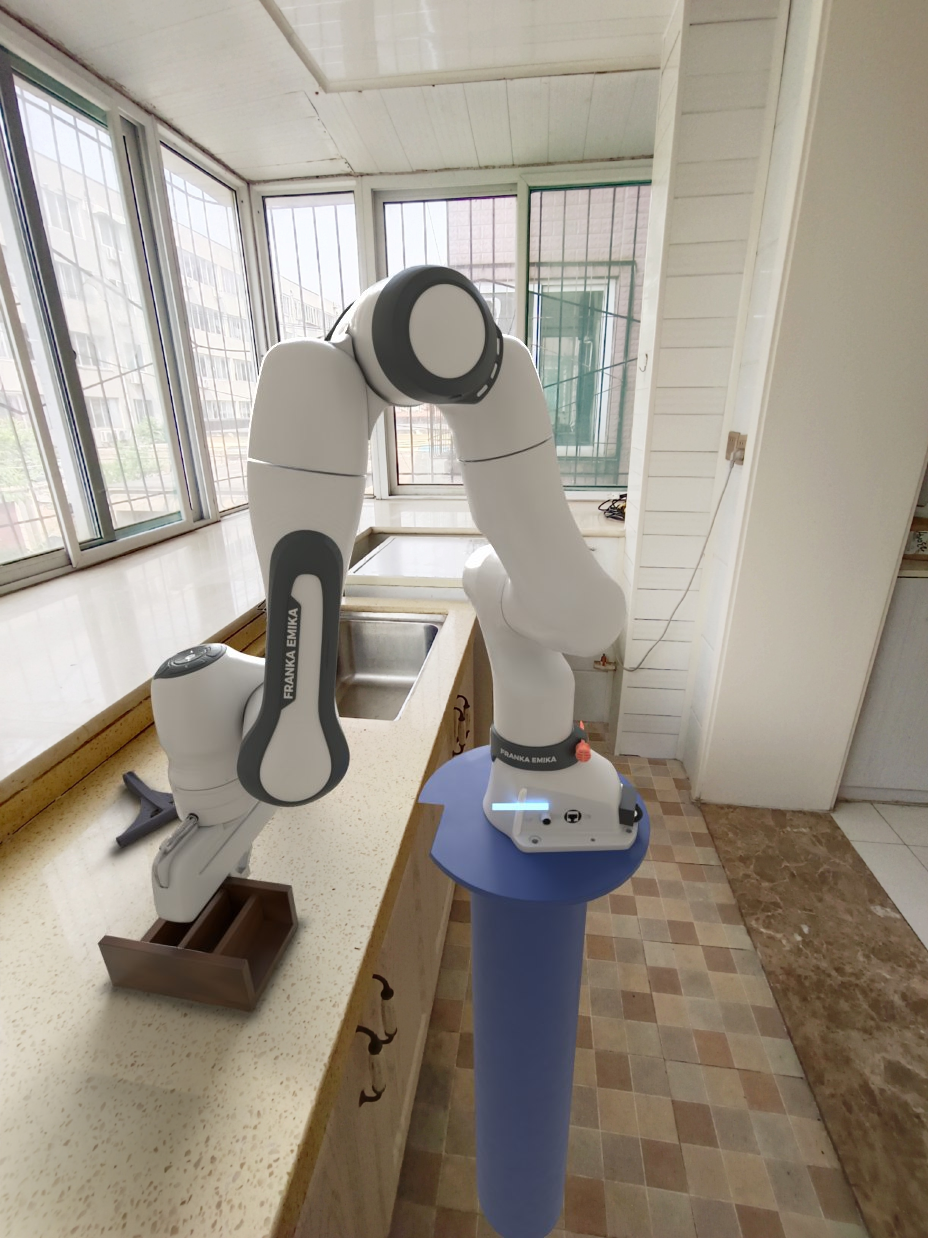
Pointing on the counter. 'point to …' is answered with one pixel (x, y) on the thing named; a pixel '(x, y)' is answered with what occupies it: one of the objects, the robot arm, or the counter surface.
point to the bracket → (146, 809)
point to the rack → (211, 947)
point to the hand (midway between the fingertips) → (238, 882)
